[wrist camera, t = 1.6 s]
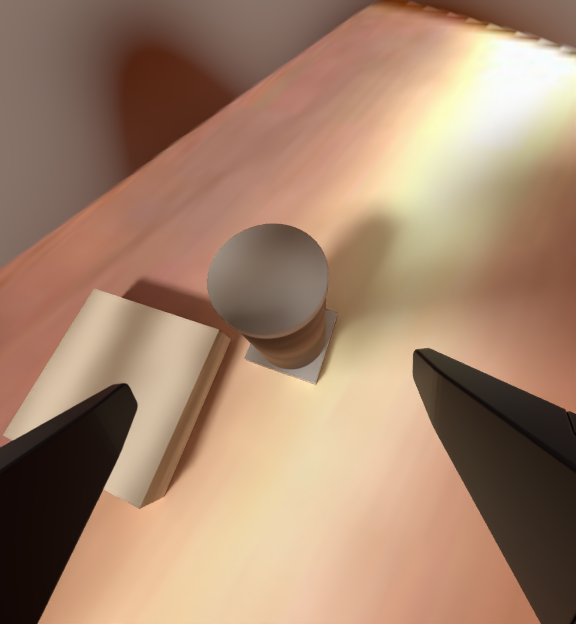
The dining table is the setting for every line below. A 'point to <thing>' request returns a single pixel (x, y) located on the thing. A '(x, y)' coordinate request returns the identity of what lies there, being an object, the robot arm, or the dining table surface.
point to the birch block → (131, 385)
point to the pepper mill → (275, 297)
